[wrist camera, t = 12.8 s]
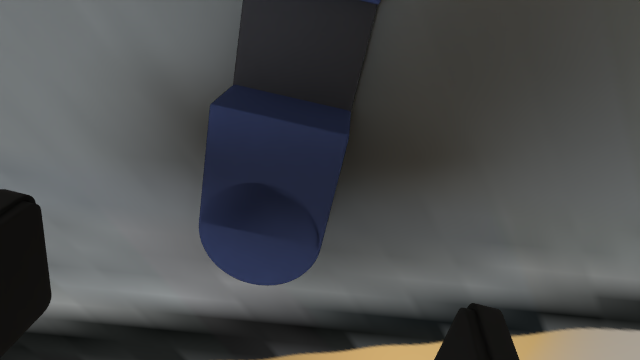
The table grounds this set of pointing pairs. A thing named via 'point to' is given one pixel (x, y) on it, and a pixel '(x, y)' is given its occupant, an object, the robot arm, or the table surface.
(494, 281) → the table surface
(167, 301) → the table surface
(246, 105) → the navy rounded-end tab
